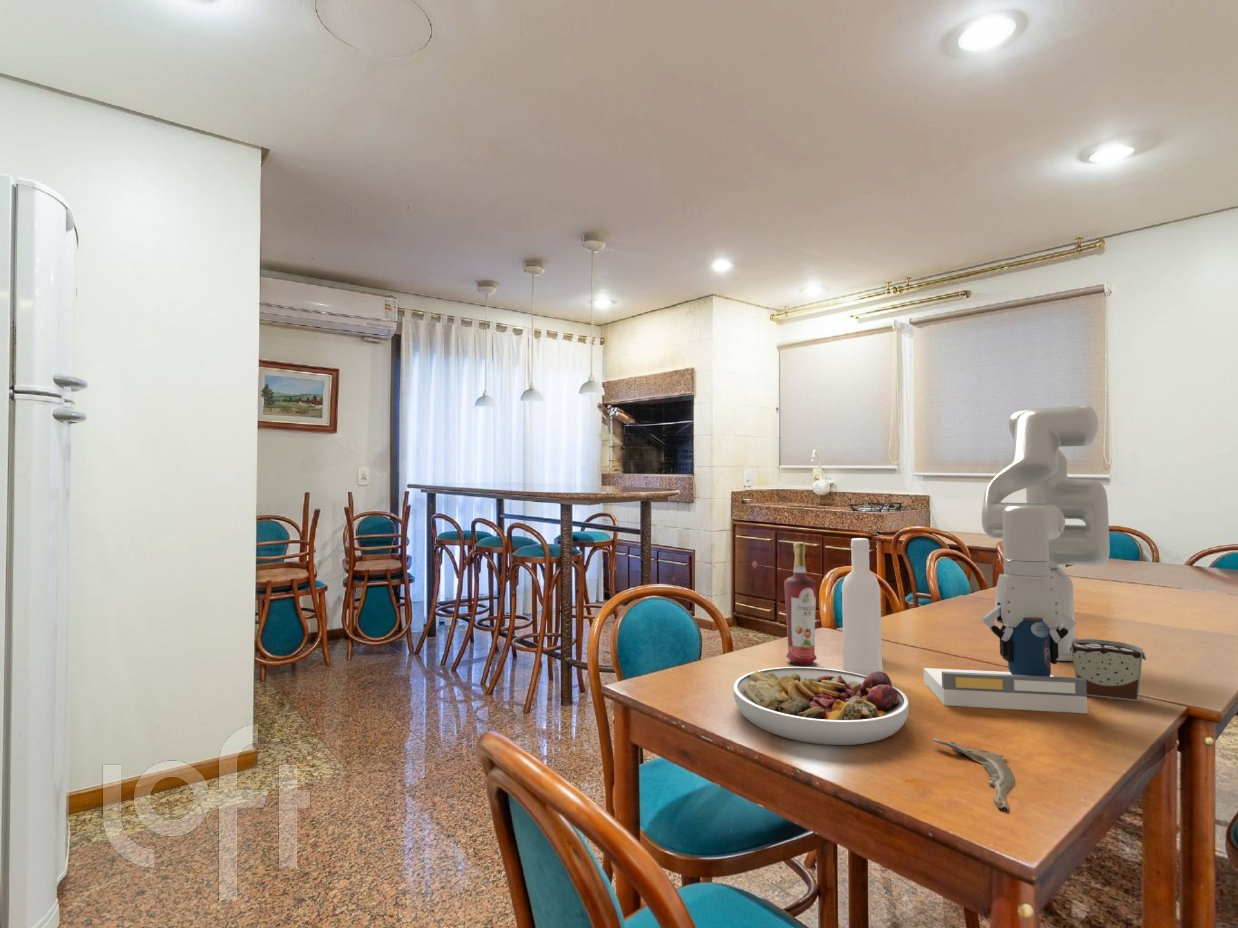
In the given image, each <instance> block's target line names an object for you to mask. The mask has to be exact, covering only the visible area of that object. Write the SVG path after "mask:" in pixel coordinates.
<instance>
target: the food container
mask: <svg viewBox="0 0 1238 928" xmlns="http://www.w3.org/2000/svg"><path fill="white" fill-rule="evenodd" d="M1071 650H1072V656H1073V661H1072V662H1073V668H1074V669H1073V670H1074V675H1075V678H1084V679H1085V680H1086V688H1087V697H1096V698H1104V697H1106V698H1107V699H1114V698H1119V699H1118V700H1123V699H1124V700H1125V699H1126V700H1125V701H1132V700H1135V701H1134V702H1139V695H1140V686H1141V685H1140V683H1141V674H1142V662H1143V660H1145V661H1147V657H1146V654H1145V652H1144V650H1143V648H1141V647H1139V646H1136V645H1133V644H1129V643H1125V642H1120V641H1115V640H1105V639H1094V638H1079V639H1077V640H1073V641H1071V644H1070V645H1069V649H1068V653H1070V651H1071ZM1106 698H1105V699H1106Z"/></svg>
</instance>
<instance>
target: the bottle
mask: <svg viewBox="0 0 1238 928" xmlns="http://www.w3.org/2000/svg"><path fill="white" fill-rule="evenodd" d="M850 540H851V541H850V549H851V551H850V552H851V556H850V557H851V571H850V572H849V573H847V574H846V575H845V576H844V579H843V582H842V584H841V585H842V586H841V591H842V605H841V609H842V608H843V617H842V644H843V649H842V650H843V651H842V655H843V657H842V658H843V661H842V662H843V663H842V668H843V669H842V671H847V672H852V673H857V674H861V675H865V676H869V675H870V674H871V673H873V672H877V671H881V672H884V670H883V667H884V666H883V653H882V652H883V651H882V650H883V649H882V647H883V646H882V608H881V587H880V586H881V585H880V584H879V581H878V578H877V576H875V575H874V574H873V573H872V572H871V571H870V540H869V539H868V538H866V537H864V538H863V537H862V538H861V537H858V538H857V537H856V538H855V537H854V538H853V537H852V538H851V539H850Z"/></svg>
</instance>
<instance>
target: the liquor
mask: <svg viewBox="0 0 1238 928" xmlns="http://www.w3.org/2000/svg"><path fill="white" fill-rule="evenodd" d="M793 553H794V563H793V575H792V576H789V577H788V578H786V579H785V580H784V581H783V587H784V600H785V602H784V603H785V614H786V615H785V617H786V629H787V630H786V631H787V654H786V658H787V659H788V660H789V661H790V662H791V663H793V664H795V665H799V666H810V665H811V664H813V663H814V662H815V661H816V659H817V655H816V653H815V646H816V645H815V637H816V636H815V632H816V631H815V630H816V610H817V609H816V606H817V603H816V602H817V581H815V580H814V579H813V578H811V577H809V576H807V569H806V568H807V567H806V560H805V559H806V557H805V556H806V542H793ZM809 664H810V665H809Z"/></svg>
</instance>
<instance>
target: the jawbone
mask: <svg viewBox="0 0 1238 928" xmlns="http://www.w3.org/2000/svg"><path fill="white" fill-rule="evenodd" d="M933 741H934V742H936V743H938V744H941V745H943V746H946V747H950V748H951V749H950V750H951V751H953V752H955V753H962V754H963V755H965V756H966V757H968V758H970V759H971V760H973V761H974V762H977V763H978V764H979V765H982V766H983V769H985V770H986V772H987V773H988V775H989V780H988V784H989V785H990V786H993V788H994V797H993V801H994V802H995V804H996V806H997V808H998V810H1000V811H1004V812H1007V813H1008V812H1009V805H1008V801H1007V797H1008V795H1009V793H1010V792H1011V791H1012V790H1013V788H1014V787H1015V785H1016V778H1015V775H1014V772H1013V771H1012V769H1011V768H1010V767H1009V765H1008V764H1007V763H1006V762H1007V759H1006V757H1005V756H1004V755H1002V754H999V753H996V752H992V751H990V750H989V751H988V750H982V749H973V748H968V747H965V746H962V745H960V744H958V743H956V742H954V741H952V740H951V741H950V742H948V741H946V740H942V739H938V738H935V737H933V738H932V742H933ZM1006 809H1007V810H1006Z"/></svg>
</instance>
